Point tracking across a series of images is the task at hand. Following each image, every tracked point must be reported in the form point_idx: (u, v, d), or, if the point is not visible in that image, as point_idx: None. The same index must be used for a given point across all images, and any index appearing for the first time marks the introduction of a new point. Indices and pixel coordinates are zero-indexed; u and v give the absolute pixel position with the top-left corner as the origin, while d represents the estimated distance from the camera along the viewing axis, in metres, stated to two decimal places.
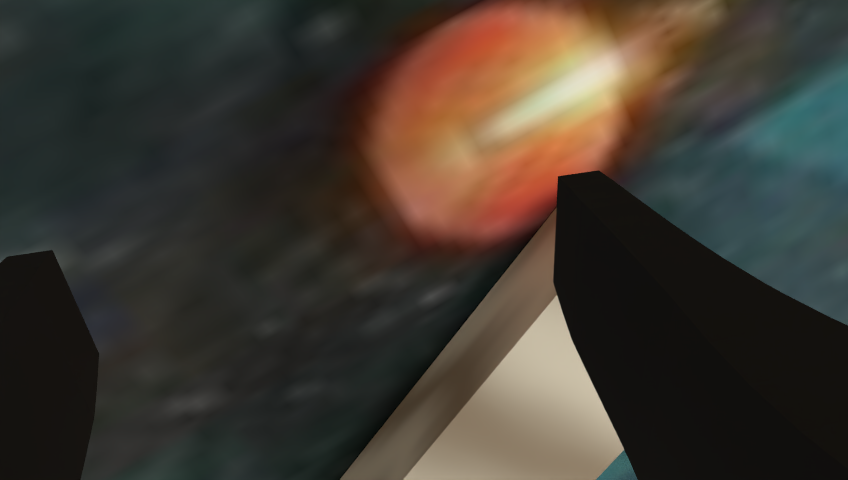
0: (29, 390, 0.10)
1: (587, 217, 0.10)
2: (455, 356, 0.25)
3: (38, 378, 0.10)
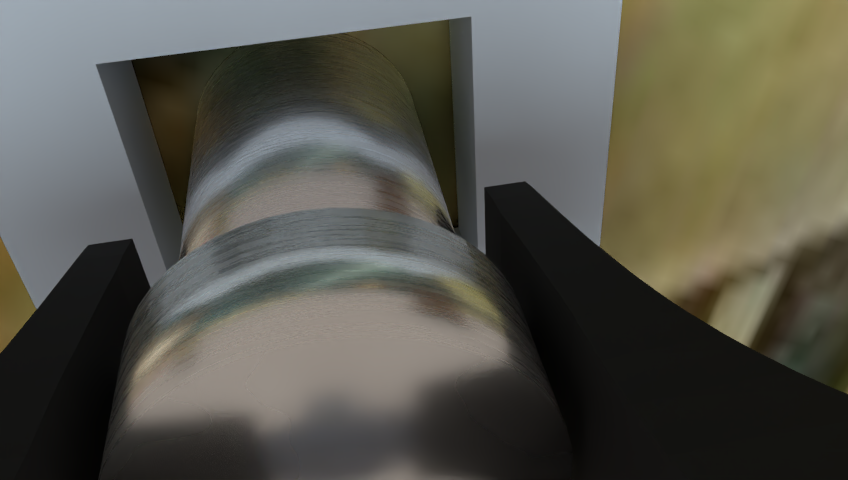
0: None
1: (506, 229, 0.10)
2: None
3: None
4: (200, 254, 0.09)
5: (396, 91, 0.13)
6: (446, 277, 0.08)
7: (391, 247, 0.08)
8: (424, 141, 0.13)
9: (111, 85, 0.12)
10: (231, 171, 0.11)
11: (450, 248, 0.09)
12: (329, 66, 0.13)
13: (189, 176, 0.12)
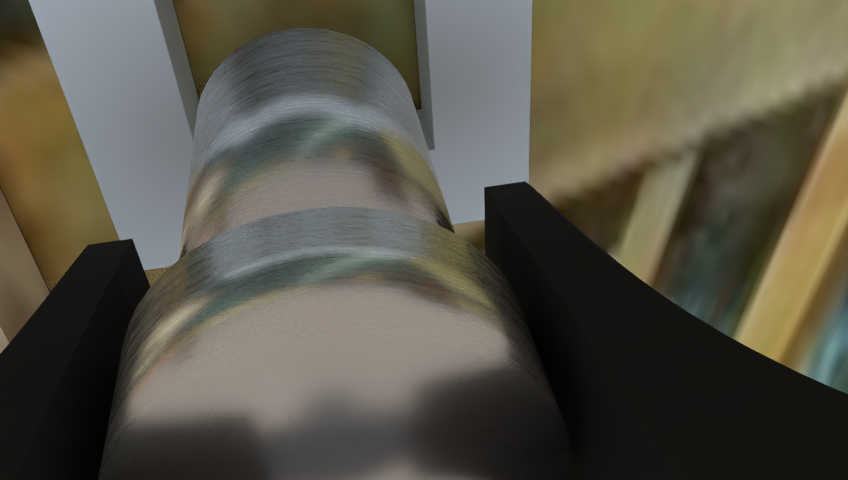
0: None
1: (506, 229, 0.10)
2: None
3: None
4: (200, 253, 0.09)
5: (396, 91, 0.13)
6: (446, 276, 0.08)
7: (391, 246, 0.08)
8: (424, 140, 0.13)
9: None
10: (230, 170, 0.11)
11: (449, 247, 0.09)
12: (329, 66, 0.13)
13: (189, 176, 0.12)
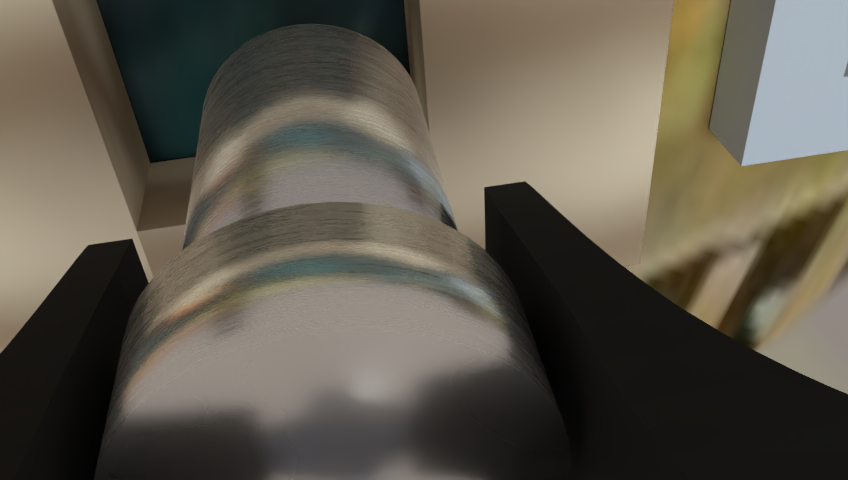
0: None
1: (506, 229, 0.10)
2: None
3: None
4: (200, 246, 0.09)
5: (401, 87, 0.13)
6: (444, 272, 0.08)
7: (390, 241, 0.08)
8: (428, 137, 0.13)
9: None
10: (233, 165, 0.11)
11: (449, 242, 0.09)
12: (334, 61, 0.13)
13: None
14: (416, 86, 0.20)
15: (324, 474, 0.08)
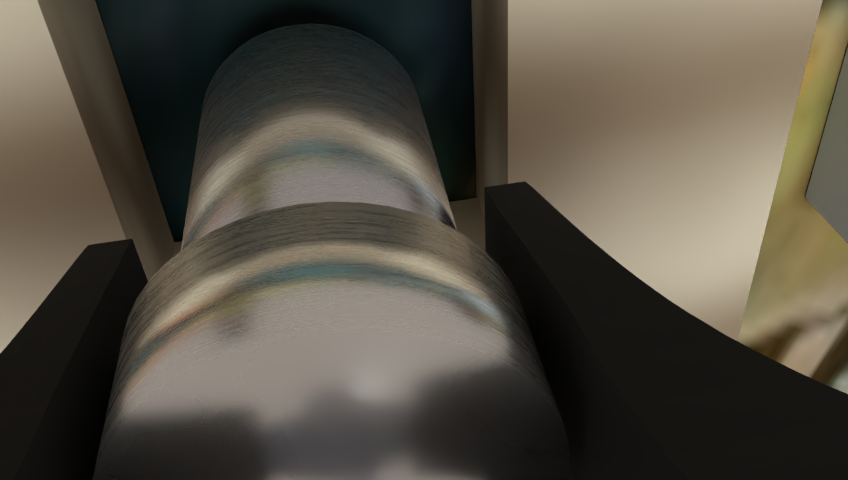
0: None
1: (506, 229, 0.10)
2: None
3: None
4: (199, 246, 0.09)
5: (400, 87, 0.13)
6: (443, 272, 0.08)
7: (389, 241, 0.08)
8: (428, 137, 0.13)
9: None
10: (232, 164, 0.11)
11: (448, 242, 0.09)
12: (333, 61, 0.13)
13: (193, 170, 0.13)
14: (487, 161, 0.17)
15: (323, 475, 0.08)
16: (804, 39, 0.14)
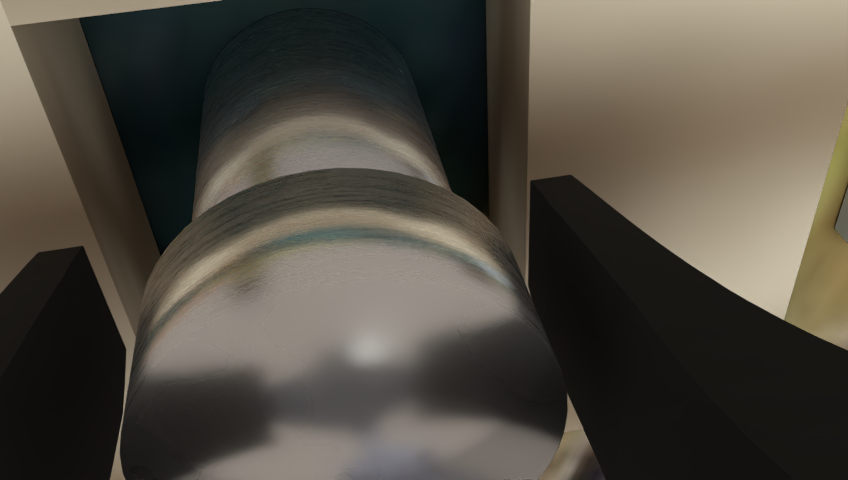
0: (63, 384, 0.10)
1: (556, 222, 0.10)
2: None
3: (72, 373, 0.10)
4: (216, 211, 0.09)
5: (397, 68, 0.14)
6: (448, 231, 0.09)
7: (396, 203, 0.09)
8: (424, 116, 0.14)
9: None
10: (241, 140, 0.11)
11: (451, 205, 0.09)
12: (333, 43, 0.13)
13: (199, 149, 0.13)
14: (502, 197, 0.16)
15: (338, 423, 0.09)
16: (847, 73, 0.13)
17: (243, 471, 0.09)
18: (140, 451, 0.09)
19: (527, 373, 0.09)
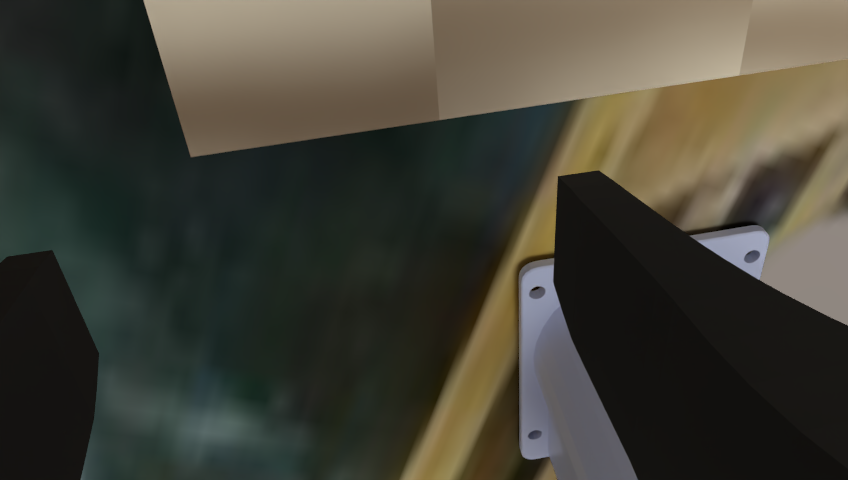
0: (29, 390, 0.10)
1: (587, 217, 0.10)
2: None
3: (38, 378, 0.10)
4: None
5: None
6: None
7: None
8: None
9: None
10: None
11: None
12: None
13: None
14: None
15: None
16: None
17: None
18: None
19: None
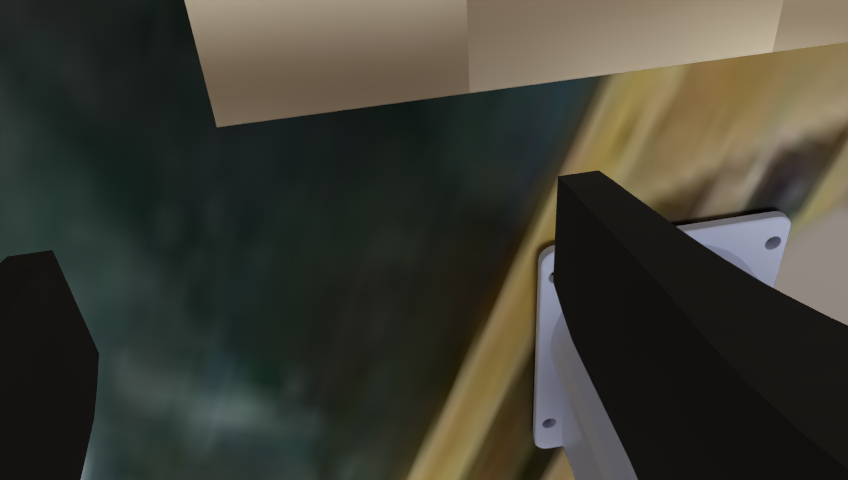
0: (29, 389, 0.10)
1: (587, 217, 0.10)
2: None
3: (39, 378, 0.10)
4: None
5: None
6: None
7: None
8: None
9: None
10: None
11: None
12: None
13: None
14: None
15: None
16: None
17: None
18: None
19: None
